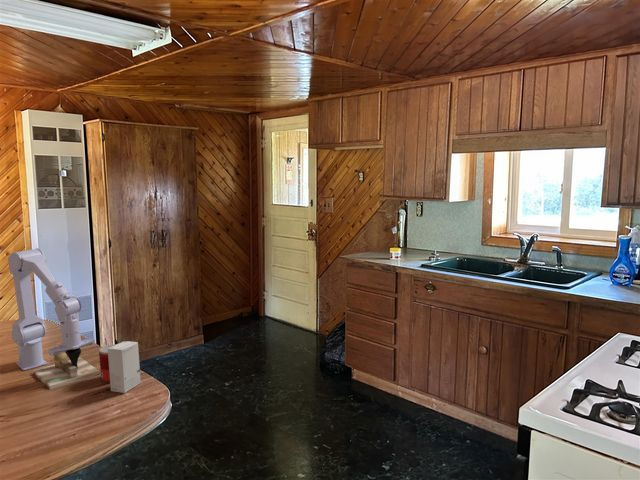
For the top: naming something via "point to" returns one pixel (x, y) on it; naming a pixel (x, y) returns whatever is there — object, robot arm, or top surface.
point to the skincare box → (124, 366)
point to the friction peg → (65, 364)
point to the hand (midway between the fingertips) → (74, 369)
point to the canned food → (104, 363)
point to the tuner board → (64, 374)
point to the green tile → (58, 379)
